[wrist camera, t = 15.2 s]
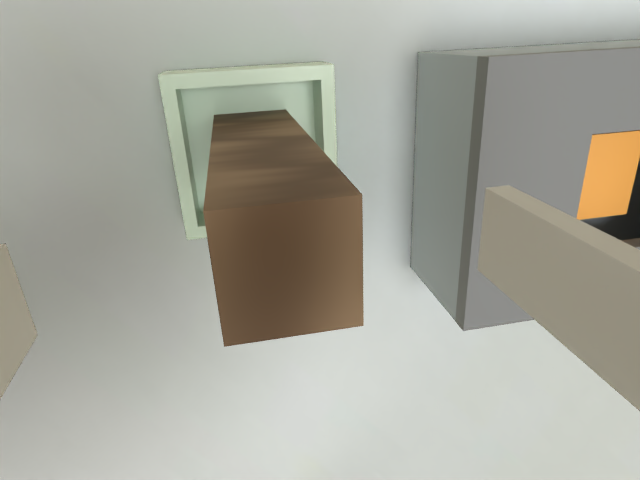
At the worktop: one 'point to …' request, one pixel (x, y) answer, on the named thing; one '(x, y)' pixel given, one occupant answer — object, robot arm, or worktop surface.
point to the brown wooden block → (280, 231)
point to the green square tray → (238, 97)
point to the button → (609, 174)
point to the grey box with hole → (510, 152)
